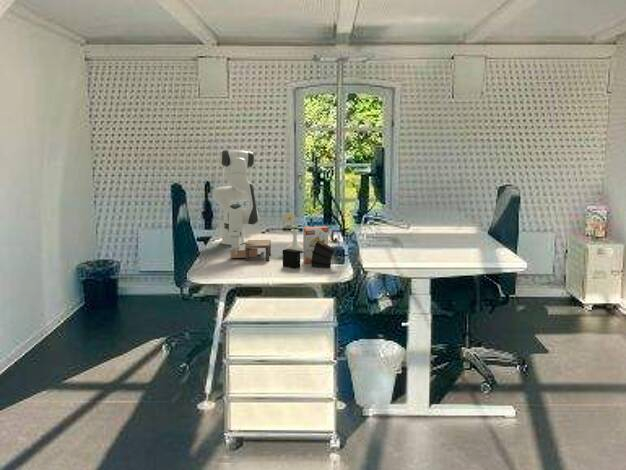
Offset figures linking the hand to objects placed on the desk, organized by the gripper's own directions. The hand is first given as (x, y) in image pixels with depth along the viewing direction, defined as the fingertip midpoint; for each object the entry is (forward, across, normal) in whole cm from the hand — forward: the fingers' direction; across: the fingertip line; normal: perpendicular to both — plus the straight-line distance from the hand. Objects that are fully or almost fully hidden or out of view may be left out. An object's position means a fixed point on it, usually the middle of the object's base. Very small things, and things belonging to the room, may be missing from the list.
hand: (236, 253), depth 417 cm
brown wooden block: (+2, 0, +4) cm, 5 cm away
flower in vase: (+3, -19, +34) cm, 39 cm away
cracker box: (+3, +13, +48) cm, 50 cm away
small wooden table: (+3, 0, +13) cm, 13 cm away
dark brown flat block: (+3, +27, +52) cm, 59 cm away
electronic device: (+3, +26, +34) cm, 43 cm away
